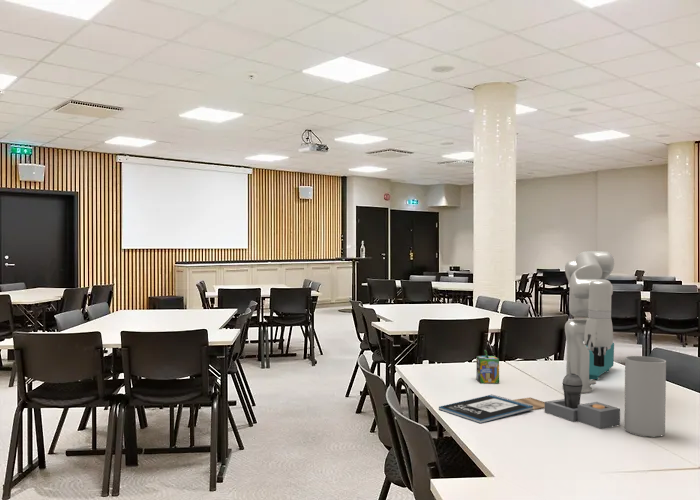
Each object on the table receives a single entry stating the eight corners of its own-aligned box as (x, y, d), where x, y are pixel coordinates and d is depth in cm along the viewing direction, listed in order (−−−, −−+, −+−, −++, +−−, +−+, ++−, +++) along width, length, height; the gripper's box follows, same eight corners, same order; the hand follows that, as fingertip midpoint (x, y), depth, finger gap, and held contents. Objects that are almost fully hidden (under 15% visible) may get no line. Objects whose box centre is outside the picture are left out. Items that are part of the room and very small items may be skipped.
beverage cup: (584, 418, 217) (584, 364, 217) (563, 416, 219) (564, 363, 219) (580, 412, 224) (581, 360, 224) (560, 411, 226) (561, 359, 226)
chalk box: (499, 383, 272) (499, 352, 272) (479, 383, 272) (480, 351, 272) (495, 379, 281) (495, 348, 281) (475, 379, 282) (476, 348, 282)
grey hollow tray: (569, 408, 231) (569, 393, 231) (621, 425, 209) (621, 408, 209) (544, 412, 225) (544, 396, 225) (596, 429, 203) (596, 412, 203)
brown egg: (597, 414, 214) (597, 403, 214) (606, 417, 210) (607, 406, 210) (589, 416, 212) (590, 405, 212) (599, 419, 208) (599, 407, 208)
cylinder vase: (663, 440, 192) (664, 364, 192) (622, 433, 199) (622, 360, 199) (666, 430, 203) (667, 358, 203) (626, 424, 210) (627, 354, 210)
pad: (530, 398, 245) (530, 397, 245) (555, 406, 233) (555, 405, 233) (504, 402, 239) (504, 400, 239) (529, 410, 226) (529, 409, 226)
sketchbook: (438, 410, 226) (438, 404, 226) (491, 398, 243) (491, 393, 243) (480, 423, 209) (480, 417, 209) (534, 409, 226) (534, 404, 226)
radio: (593, 368, 312) (593, 340, 312) (614, 370, 306) (614, 342, 306) (575, 379, 285) (576, 348, 285) (598, 382, 279) (598, 350, 279)
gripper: (605, 313, 218) (604, 362, 218) (576, 314, 211) (575, 365, 211) (622, 315, 211) (622, 366, 211) (593, 317, 204) (592, 369, 204)
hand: (598, 365), depth 211 cm, fingers closed
